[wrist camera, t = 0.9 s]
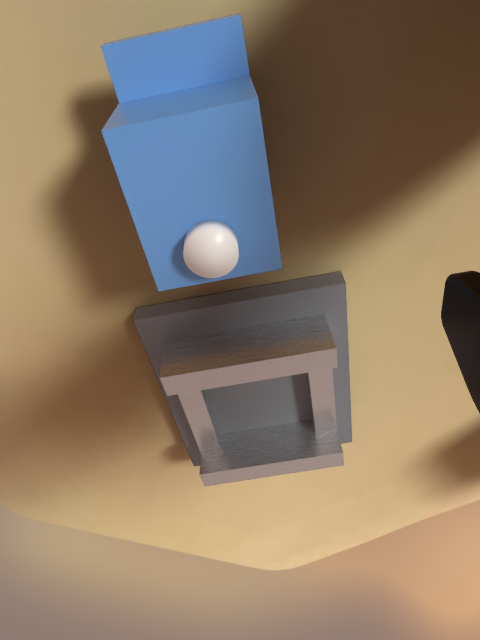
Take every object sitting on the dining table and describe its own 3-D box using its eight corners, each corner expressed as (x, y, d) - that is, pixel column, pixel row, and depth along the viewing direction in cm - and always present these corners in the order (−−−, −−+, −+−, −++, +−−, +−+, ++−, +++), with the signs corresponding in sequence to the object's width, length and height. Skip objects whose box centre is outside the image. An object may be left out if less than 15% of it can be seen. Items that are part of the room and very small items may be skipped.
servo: (235, 6, 15) (250, 30, 10) (269, 225, 20) (290, 317, 15) (118, 32, 15) (71, 69, 10) (179, 242, 20) (170, 338, 15)
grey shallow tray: (340, 271, 21) (360, 316, 19) (348, 428, 29) (363, 477, 26) (135, 308, 22) (125, 357, 19) (194, 452, 29) (193, 503, 27)
